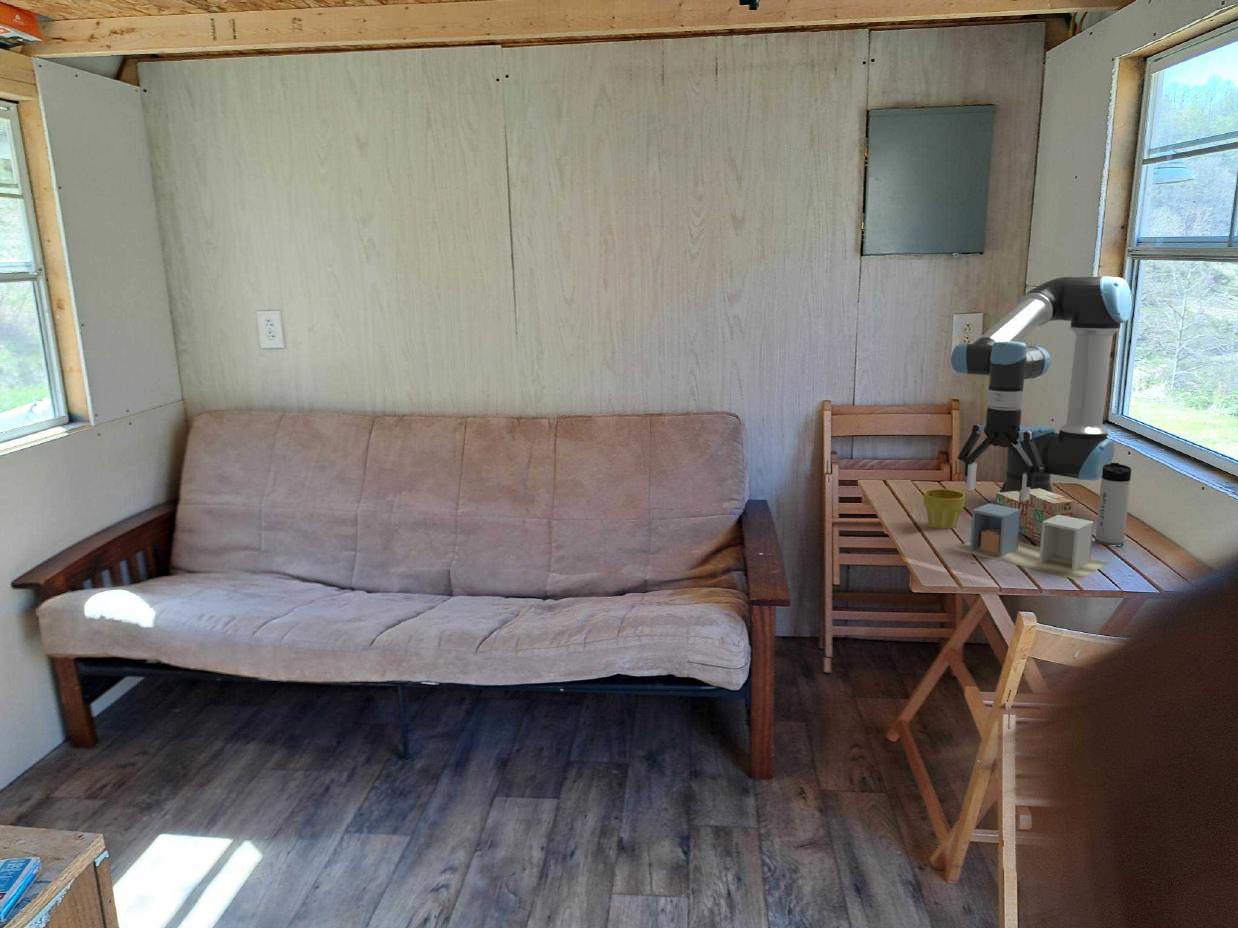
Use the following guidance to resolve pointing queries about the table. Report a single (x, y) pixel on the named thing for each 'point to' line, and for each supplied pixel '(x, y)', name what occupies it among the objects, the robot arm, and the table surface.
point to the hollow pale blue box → (996, 526)
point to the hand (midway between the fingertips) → (997, 494)
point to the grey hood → (1066, 540)
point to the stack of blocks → (1036, 509)
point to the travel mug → (1113, 504)
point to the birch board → (1037, 560)
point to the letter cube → (991, 540)
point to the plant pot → (943, 507)
